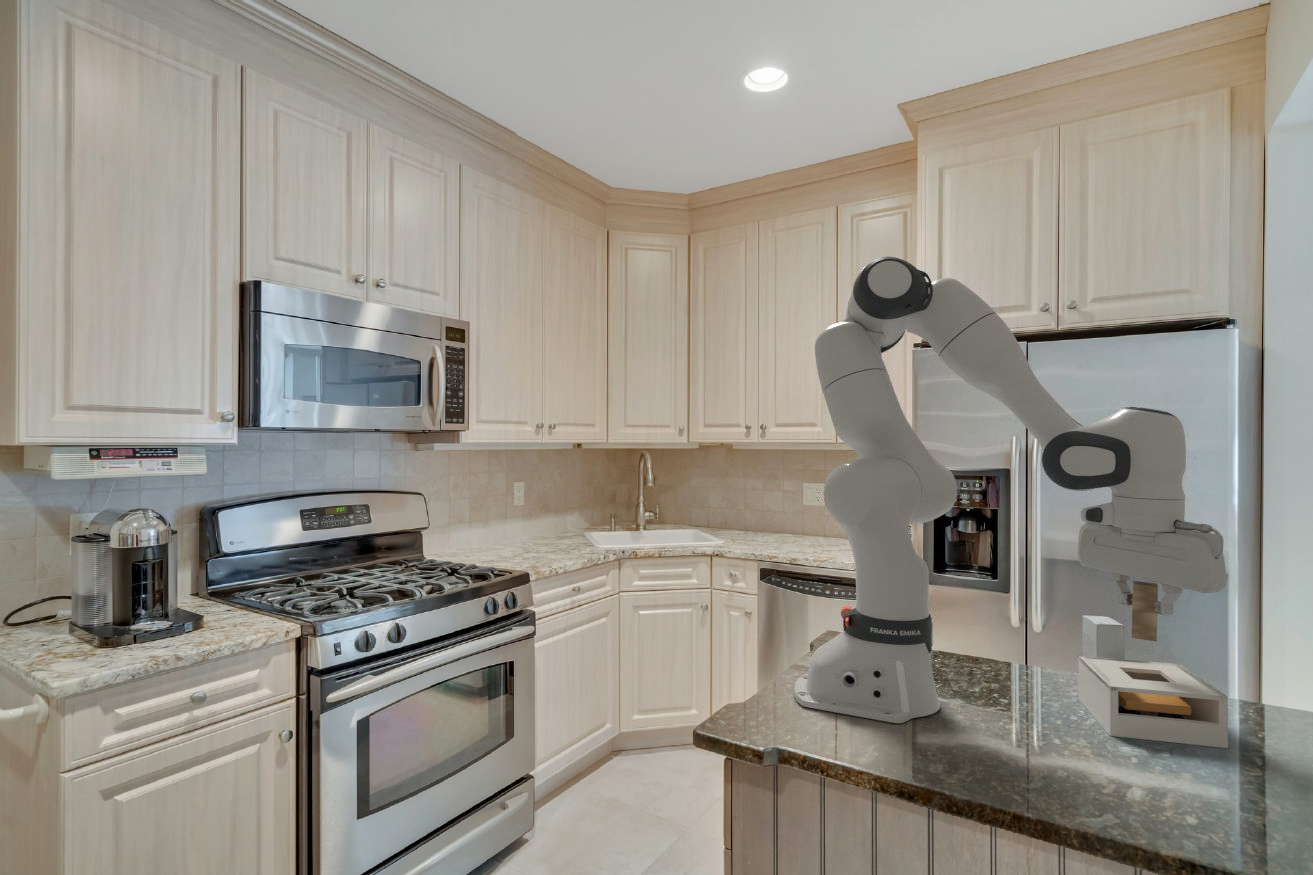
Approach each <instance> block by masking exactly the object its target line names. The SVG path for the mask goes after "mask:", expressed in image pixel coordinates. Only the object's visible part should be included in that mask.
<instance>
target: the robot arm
mask: <svg viewBox="0 0 1313 875" xmlns="http://www.w3.org/2000/svg"><path fill="white" fill-rule="evenodd" d="M926 279H927V280H928V281H927V280H926ZM905 332H907V333H910V334H913V335H916V336H918V337H920V338H921V339H923V340H924V341H925V342H927V343H928V344H929V346H930V347H931V348H932V350H933V351H934V352H935V353H936V355H937V356H938V357H939V358H940V359H941V360H942V362H943V363H944V364H946V366H947V367H948V368H949V369H951V371H953V373H955V374H956V375H957V376H958V377H960V378H961V379H962V380H963V381H964V382H966V383H968V384H969V385H970V386H972V387H974V388H976V389H977V390H980V391H981V392H983V393H986V394H988V395H989V396H991V397H993V398H995V399H996V400H998V401H999V402H1000V403H1002V404H1003V405H1004V406H1005V407H1007V409H1009V410H1010V411H1011V412H1012V413H1013V415H1014V416H1015V417H1016V418H1017V419H1018V420H1019V421H1020V422H1021V423H1022V424H1023V426H1024V427H1025V429H1027V430H1028V431H1029V433H1031V435H1033V437H1034V438H1035V439H1036V440H1037V442H1038V443H1039V444H1040V446H1041V448H1042V451H1043V452H1042V456H1041V463H1042V464H1041V465H1042V468H1043V471H1044V473H1045V474H1046V476H1047V477H1048V478H1049V480H1051V481H1052V482H1053V483H1054V484H1056V485H1057V486H1059V487H1061V488H1063V489H1066V490H1069V491H1074V492H1086V491H1091V490H1094V489H1100V488H1110V490H1111V501H1110V502H1105V503H1102V504H1101V503H1100V504H1098V505H1092V506H1086V507H1084V508H1081V510H1080V520H1081V521H1082V522H1084V523H1082V524H1081V525H1080V527H1079V530H1078V535H1077V536H1078V537H1077V550H1076V551H1077V552H1076V553H1077V554H1076V555H1077V559H1078V561H1079V563H1080V564H1081V566H1082V567H1085V568H1090V569H1094V570H1099V571H1103V572H1107V573H1110V580H1111V582H1112V584H1113V586H1114V588H1115V590H1116V592H1118V593H1117V602H1118V604H1121V605H1123V606H1124V605H1125V606H1129V607H1130V606H1132V601H1133V592H1132V591H1131V589H1130V587H1129V584H1128V582H1129V581H1131V580H1130V579H1131V578H1135V579H1140V580H1144V581H1146V582H1151V583H1158V584H1161V591H1162V592H1164V595H1163V597H1162V598H1161V600H1158V601H1155V602H1154V606H1155V609H1154V611H1155V613H1157V615H1162V616H1165V617H1166V616H1172V615H1173V614H1174V604H1175V603H1176V602H1177V601H1178V599H1179V598H1180V596H1181V595H1182V594H1183V589H1185V590H1188V591H1193V592H1198V593H1202V594H1213V593H1220V592H1221V591H1223V589H1225V588H1226V586H1227V572H1226V571H1227V570H1226V562H1225V556H1224V544H1225V543H1224V536H1223V535H1222V534H1221V533H1220V532H1219V531H1218V530H1217V529H1215V528H1213V526H1212V525H1210V524H1206V523H1195V522H1190V521H1185V514H1186V513H1185V511H1186V510H1185V509H1186V508H1185V506H1186V505H1185V502H1186V497H1185V496H1186V495H1185V491H1184V490H1183V478H1184V475H1185V472H1186V468H1187V466H1186V465H1187V451H1186V449H1187V448H1186V446H1187V445H1186V435H1185V431H1184V430H1185V429H1184V426H1183V424H1182V421H1181V420H1180V419H1179V418H1178V417H1177V416H1176V415H1174V414H1172V413H1171V412H1168V411H1164V410H1159V409H1155V408H1154V409H1153V408H1148V407H1147V408H1146V407H1136V406H1125V407H1121V408H1119V410H1118V411H1115V413H1113V414H1110V415H1109V416H1106V417H1104V418H1102V419H1100V420H1097V421H1094V422H1091V423H1089V424H1087V425H1083V424H1081V423H1079V422H1078V421H1076V420H1075V418H1073V417H1071V415H1069V413H1068V412H1067V411H1066V410H1065V409H1064V408H1063V407H1062V406H1061V405H1060V404H1059V403H1058V401H1056V400H1055V398H1054V397H1053V396H1052V395H1051V394H1050V393H1049V392H1048V391H1047V390H1046V388H1045V387H1044V386H1043V385H1042V384H1041V382H1040V381H1039V380H1038V379H1037V377H1036V375H1035V374H1034V372H1033V369H1032V368H1031V366H1030V364H1029V361H1028V359H1027V357H1026V355H1025V353H1024V351H1023V349H1022V347H1021V345H1020V344H1019V342H1018V340H1017V338H1016V336H1015V335H1014V333H1013V332H1012V330H1011V329H1010V328H1009V326H1008V325H1007V324H1006V323H1005V321H1004V320H1003V319H1002V317H1000V315H999V314H998V313H997V312H996V311H995V310H994V309H993V308H992V307H991V306H990V305H989V304H988V303H987V302H986V301H985V300H983V298H981V297H980V296H979V295H978V294H977V293H975V292H974V291H973V290H972V289H970V288H969V287H968V286H966V285H965V284H963V283H961V281H959V280H957V279H954V278H950V277H945V278H939V279H936V280H934V281H932V280H931V277H930V275H929V274H928V273H927V272H926V271H923V270H920V269H918V268H917V267H915V265H913V264H911V263H910V262H909V261H906V260H904V259H901V258H900V257H899V258H898V257H894V256H882V257H877V258H874V259H873V260H872V261H870V262H868V263H867V264H866V265H865V266H864V267H863V268H861V271H860V272H859V273H858V274H857V276H856V278H855V281H854V284H853V287H852V291H851V294H850V297H849V300H848V304H847V310H846V316H845V320H842V321H841V322H837V323H834V324H831V325H829V326H827V327H826V328H825V329H824V330H822V331H821V333H819V335H818V336H817V338H816V340H815V343H814V355H815V362H816V368H817V374H818V379H819V384H820V387H821V391H822V394H823V397H824V400H825V402H826V403H825V404H826V406H827V409H828V412H829V415H830V419H831V422H832V425H833V428H834V431H835V433H836V435H837V436H838V437H839V439H840V440H841V441H842V442H843V443H844V444H846V445H848V446H849V447H850V448H852V450H853V451H855V453H856V454H857V455H858V457H859V459H856V460H853V461H849V462H846V463H844V464H843V463H842V464H840V465H838V466H836V467H834V468H833V470H831V471H830V473H829V474H828V475H827V478H826V479H825V482H824V486H823V499H824V500H823V501H824V504H825V507H826V510H827V512H828V513H829V514H830V516H831V517H832V518H833V520H835V521H836V522H837V523H838V524H839V525H840V526H841V527H842V528H841V529H842V530H843V532H844V533H845V535H846V537H847V540H848V542H849V544H850V548H851V551H852V556H853V561H854V566H855V567H854V569H855V586H856V589H855V591H856V593H855V601H856V603H855V604H856V606H855V608H853V609H852V607H850V606H849V605H845V606H843V607H842V608H841V609H840V610H841V611H840V616H841V618H842V622H843V623H842V628H843V630H842V632H840V633H839V634H837V635H836V636H834V637H832V638H831V639H830V640H828V641H827V642H824V644H822V645H821V646H819V647H818V648H816V650H815V651H814V652H813V654H812V656H811V658H810V661H809V665H808V670H807V673H805V674H803V675H801V676H800V677H798V678H797V680H796V681H795V683H794V690H793V695H794V699H795V700H796V702H797V703H798V704H799V705H800V706H802V707H805V708H810V709H815V710H821V711H826V712H832V713H838V714H841V715H842V714H843V715H846V716H847V715H848V716H854V717H859V718H865V719H870V720H875V721H880V722H881V721H882V722H887V723H893V724H902V723H903V724H904V723H905V722H907V721H910V720H911V719H915V718H923V717H926V716H929V715H933V714H935V713H937V712H938V711H939V710H940V708H941V702H940V700H939V696H938V693H937V688H936V685H935V679H934V674H933V666H932V658H931V657H932V656H931V652H932V650H933V644H934V640H933V638H934V633H933V632H934V630H933V629H934V626H933V620H932V616H931V614H930V602H929V601H930V585H929V582H930V581H929V580H930V577H929V576H930V570H929V567H928V565H927V562H926V561H925V560H924V559H923V558H922V557H921V556H920V555H918V553H917V552H916V549H915V547H914V545H913V541H912V538H911V534H910V527H909V526H910V525H918V524H925V523H928V522H931V521H933V520H936V519H938V518H940V517H941V516H944V515H945V514H946V513H947V514H948V512H950V510H951V509H952V508H953V507H954V505H955V503H956V500H957V498H958V484H957V481H956V478H955V476H954V474H953V472H952V471H951V470H950V469H949V468H948V467H947V466H946V465H945V464H943V463H941V462H940V461H939V460H938V459H936V457H934V456H933V455H932V453H930V451H929V450H928V449H927V447H926V446H925V445H924V443H923V442H922V440H921V439H920V437H919V436H918V435H917V433H916V432H915V430H914V429H913V427H912V426H911V424H910V423H909V421H908V419H907V418H906V417H907V416H905V414H904V411H903V409H902V407H901V404H900V402H899V399H898V396H897V395H896V392H895V388H894V387H893V386H894V385H893V383H892V380H891V378H890V375H889V372H888V369H887V366H886V365H885V362H884V360H883V356H882V354H883V353H885V352H887V351H889V350H891V349H892V348H894V347H895V346H896V345H897V344H898V343H899V342H900V341H901V340H902V338H903V337H904V335H905Z"/></svg>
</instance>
